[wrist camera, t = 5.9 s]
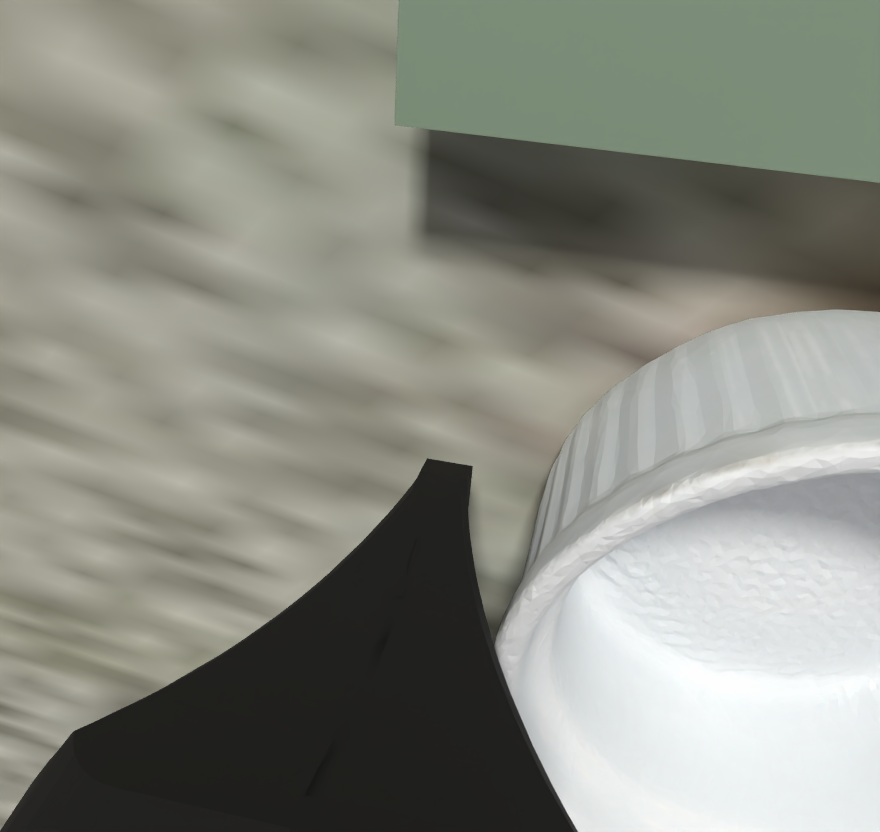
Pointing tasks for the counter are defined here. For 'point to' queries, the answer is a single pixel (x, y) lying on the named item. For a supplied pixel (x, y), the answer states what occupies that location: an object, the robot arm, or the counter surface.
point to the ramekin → (713, 589)
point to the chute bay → (653, 78)
